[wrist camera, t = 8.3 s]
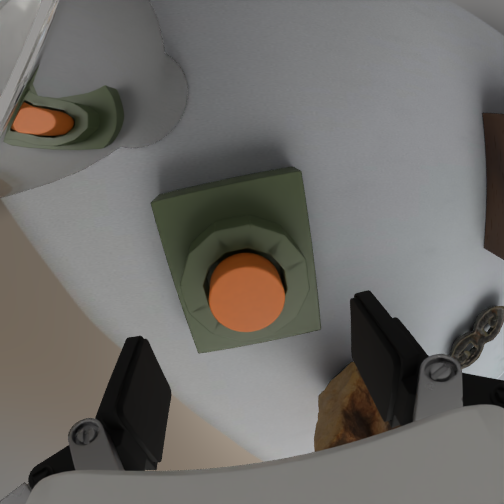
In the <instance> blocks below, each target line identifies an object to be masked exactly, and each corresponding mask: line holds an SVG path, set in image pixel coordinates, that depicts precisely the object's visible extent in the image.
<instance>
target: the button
mask: <svg viewBox="0 0 504 504" xmlns="http://www.w3.org/2000/svg"><path fill="white" fill-rule="evenodd" d="M284 303H285V292H284V288H283V285H282V282H281V279H280V276H279V274H278V271H277V269H276V268H275V266H274V265H273V264H272V263H271V262H270V261H269V260H268V259H266V258H264V257H263V256H260V255H258V254H254V253H238V254H234V255H232V256H229V257H227V258H226V259H224V260H223V261H221V262H220V263H219V264H218V265H217V267H216V268H215V270H214V271H213V274H212V276H211V280H210V290H209V306H210V310H211V312H212V314H213V316H214V317H215V318H216V320H217V321H218V322H219V323H221V324H222V325H223V326H225V327H227V328H229V329H231V330H234V331H239V332H253V331H257V330H260V329H263V328H265V327H267V326H269V325H270V324H272V323H273V322H274V321H275V320H276V319H277V318H278V316H279V315H280V313H281V312H282V310H283V307H284Z"/></svg>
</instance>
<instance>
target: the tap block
mask: <svg viewBox="0 0 504 504" xmlns="http://www.w3.org/2000/svg"><path fill="white" fill-rule="evenodd" d="M483 123H484V134H485V147H486V168H487V206H486V227H485V241H484V248H485V249H486V250H488V251H490V252H491V253H493V254H495V255H496V256H498V257H500V258H501V259H503V260H504V114H497V113H483Z"/></svg>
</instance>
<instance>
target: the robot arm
mask: <svg viewBox="0 0 504 504" xmlns="http://www.w3.org/2000/svg"><path fill="white" fill-rule="evenodd" d="M350 310H351V352H352V358H353V361H354V363H355V365H356V367H357V369H358V371H359V373H360V375H361V377H362V379H363V381H364V383H365V385H366V387H367V389H368V391H369V393H370V395H371V397H372V399H373V401H374V403H375V405H376V407H377V409H378V411H379V413H380V416H381V418H382V420H383V421H384V422H387V421H388V422H389V424H390V426H391V428H394V427H396V426H399V425H400V426H401V427H398V428H395V429H392V430H389V431H386V432H383V433H380V434H377V435H374V436H371V437H368V438H365V439H361V440H358V441H355V442H351V443H348V444H344V445H341V446H337V447H333V448H329V449H325V450H321V451H317V452H313V453H308V454H304V455H299V456H294V457H289V458H284V459H278V460H273V461H267V462H261V463H254V464H247V465H239V466H231V467H221V468H210V469H197V470H180V471H179V470H177V471H145V470H156V469H157V463H158V462H161V459H162V453H163V446H164V439H165V431H166V425H167V419H168V412H169V406H170V401H171V389H170V386H169V384H168V382H167V380H166V378H165V376H164V374H163V372H162V370H161V368H160V366H159V363H158V361H157V359H156V357H155V355H154V353H153V350H152V348H151V346H150V344H149V341H148V340H147V339H143V337H142V336H136V337H129V338H127V339H126V341H125V344H124V346H123V348H122V351H121V353H120V356H119V358H118V361H117V363H116V366H115V368H114V370H113V373H112V375H111V378H110V380H109V383H108V386H107V388H106V391H105V394H104V396H103V399H102V401H101V404H100V407H99V409H98V412H97V415H96V418H95V419H93V418H86V419H83V420H80V421H79V422H77V423H76V424H75V425H73V426H72V428H71V429H70V432H69V434H68V442H69V446H67V447H65V448H64V449H62V450H60V451H59V452H57V453H56V454H54V455H53V456H51V457H49V458H48V459H46V460H45V461H43V462H41V463H40V464H38V465H37V466H35V467H34V468H33V470H32V471H31V472H30V475H29V481H28V482H29V483H28V484H26V483H25V482H24V483H23V484H21V485H20V486H19V487H18V488H16V489H15V490H14V491H12V492H11V493H10V494H9V495H7V496H6V497H5V498H3V499H2V500H1V501H0V504H504V381H503V380H498V379H492V378H487V377H481V376H476V375H471V374H466V373H462V369H461V365H460V363H459V362H458V361H457V360H456V359H455V358H453V357H451V356H449V355H444V354H436V355H432V356H428V355H427V354H426V352H425V351H424V350H423V349H422V347H421V346H420V345H419V344H418V342H417V341H416V340H415V339H414V337H413V336H412V335H411V334H410V332H409V331H408V330H407V329H406V327H405V326H404V325H403V324H402V322H401V321H400V320H399V319H398V318H396V317H394V318H392V317H391V316H390V315H389V313H388V312H387V311H386V310H385V308H384V307H383V306H382V305H381V304H380V302H379V301H378V300H377V299H376V297H375V296H374V295H373V294H372V293H371V291H369V290H368V291H364V292H360V293H356V294H355V295H354V298H351V299H350Z"/></svg>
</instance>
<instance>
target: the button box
mask: <svg viewBox="0 0 504 504" xmlns="http://www.w3.org/2000/svg"><path fill="white" fill-rule="evenodd" d="M151 206H152V210H153V213H154V217H155V221H156V224H157V228H158V231H159V235H160V238H161V242H162V245H163V248H164V252H165V255H166V258H167V262H168V265H169V268H170V271H171V275H172V278H173V281H174V284H175V287H176V290H177V293H178V296H179V299H180V302H181V305H182V308H183V311H184V314H185V317H186V320H187V323H188V326H189V329H190V331H191V334H192V337H193V340H194V343H195V345H196V348H197V351H198V353H206V352H212V351H218V350H224V349H229V348H235V347H241V346H246V345H251V344H256V343H262V342H267V341H272V340H276V339H281V338H286V337H290V336H295V335H299V334H304V333H308V332H313V331H317V330H321V323H320V312H319V302H318V292H317V283H316V274H315V266H314V257H313V249H312V241H311V234H310V226H309V219H308V212H307V205H306V198H305V192H304V185H303V179H302V172H301V171H300V170H298V169H297V168H295V167H286V168H281V169H275V170H270V171H264V172H259V173H254V174H249V175H244V176H239V177H234V178H229V179H224V180H220V181H215V182H211V183H206V184H202V185H197V186H193V187H188V188H184V189H180V190H176V191H172V192H168V193H164V194H160V195H158V196H157V197H156V198H155V199H154V200H153V201H152V202H151ZM238 253H254V254H258V255H260V256H263V257H264V258H266V259H268V260H269V261H270V262H271V263H272V264H273V265H274V266H275V268H276V269H277V271H278V274H279V276H280V279H281V282H282V285H283V288H284V292H285V303H284V307H283V310H282V312H281V313H280V315H279V316H278V318H277V319H276V320H275V321H274V322H273V323H272V324H270V325H269V326H267V327H265V328H263V329H260V330H257V331H253V332H239V331H234V330H231V329H229V328H227V327H225V326H223V325H222V324H221V323H219V322H218V321H217V320H216V318H215V317H214V316H213V314H212V312H211V310H210V306H209V290H210V280H211V276H212V274H213V271H214V270H215V268H216V267H217V265H218V264H219V263H220V262H221V261H223V260H224V259H226V258H227V257H229V256H232V255H234V254H238Z"/></svg>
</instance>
